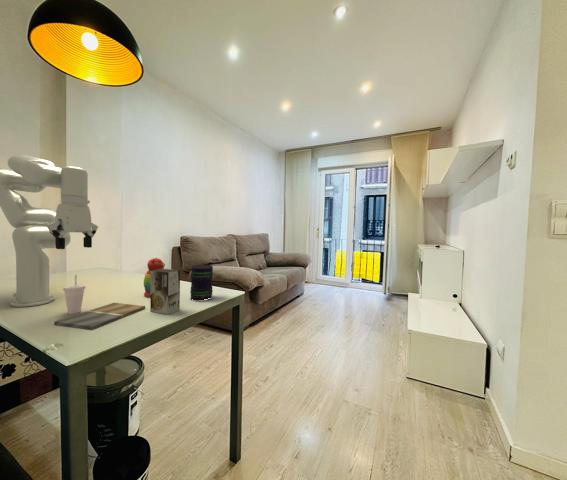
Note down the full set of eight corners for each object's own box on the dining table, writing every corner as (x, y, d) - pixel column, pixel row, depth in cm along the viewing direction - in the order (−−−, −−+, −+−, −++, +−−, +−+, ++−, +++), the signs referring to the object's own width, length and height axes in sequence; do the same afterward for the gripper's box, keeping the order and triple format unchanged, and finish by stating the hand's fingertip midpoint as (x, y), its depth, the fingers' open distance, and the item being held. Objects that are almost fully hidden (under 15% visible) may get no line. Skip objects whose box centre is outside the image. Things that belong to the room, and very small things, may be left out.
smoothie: (72, 315, 88) (72, 276, 88) (58, 314, 90) (58, 275, 89) (89, 310, 95) (90, 273, 94) (76, 308, 96) (76, 272, 95)
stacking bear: (162, 298, 113) (163, 259, 113) (139, 298, 112) (139, 259, 111) (170, 292, 124) (170, 257, 124) (148, 292, 123) (149, 256, 122)
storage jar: (216, 298, 116) (217, 266, 115) (197, 302, 108) (197, 268, 108) (205, 294, 122) (205, 264, 122) (186, 298, 115) (186, 266, 114)
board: (54, 324, 80) (54, 321, 80) (113, 305, 102) (113, 302, 102) (92, 329, 77) (92, 326, 77) (145, 308, 98) (145, 306, 98)
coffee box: (180, 310, 98) (181, 269, 98) (168, 315, 92) (168, 272, 92) (162, 306, 101) (163, 267, 101) (149, 311, 95) (149, 270, 95)
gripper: (89, 204, 100) (89, 246, 100) (38, 198, 83) (39, 249, 83) (104, 204, 98) (104, 247, 99) (56, 198, 81) (56, 250, 82)
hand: (74, 248), depth 91 cm, fingers open, 9 cm apart
